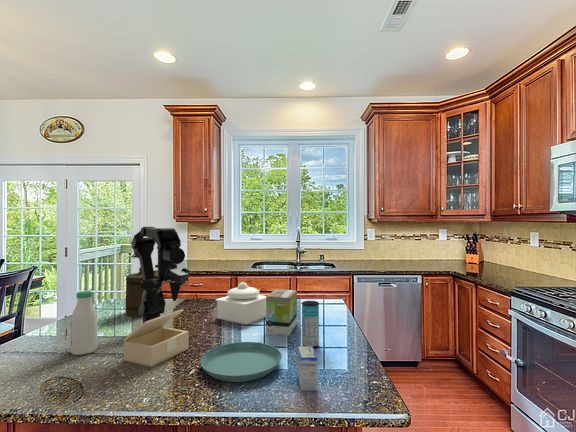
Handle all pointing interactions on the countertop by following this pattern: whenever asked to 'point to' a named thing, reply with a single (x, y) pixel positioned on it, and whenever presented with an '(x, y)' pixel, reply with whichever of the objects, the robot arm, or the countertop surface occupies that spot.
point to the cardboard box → (156, 346)
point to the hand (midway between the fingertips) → (165, 303)
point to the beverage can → (310, 324)
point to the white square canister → (242, 305)
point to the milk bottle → (84, 325)
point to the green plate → (241, 361)
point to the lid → (153, 324)
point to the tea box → (281, 312)
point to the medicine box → (307, 369)
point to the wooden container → (134, 293)
